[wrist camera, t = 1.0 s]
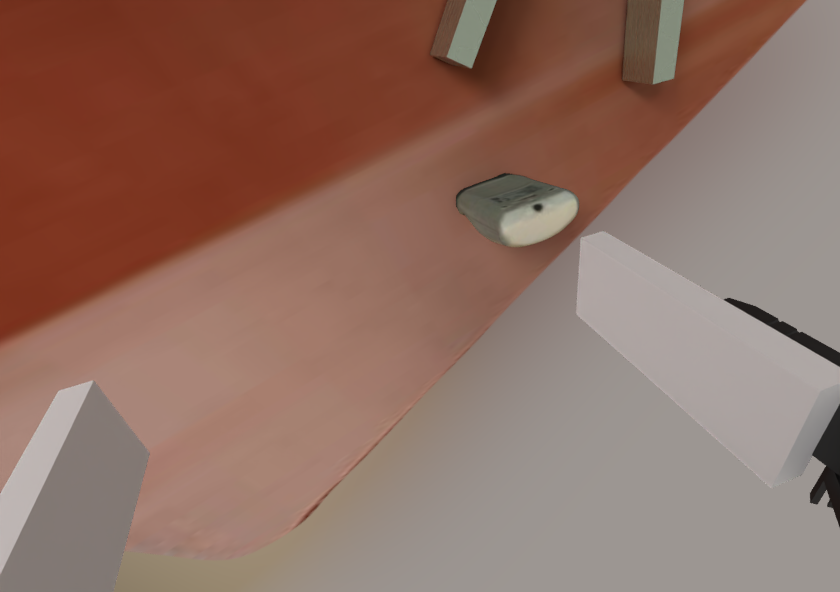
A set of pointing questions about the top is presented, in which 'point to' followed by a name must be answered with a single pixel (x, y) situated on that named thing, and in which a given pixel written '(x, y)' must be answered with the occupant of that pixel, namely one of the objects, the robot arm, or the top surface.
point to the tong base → (651, 40)
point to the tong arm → (462, 31)
